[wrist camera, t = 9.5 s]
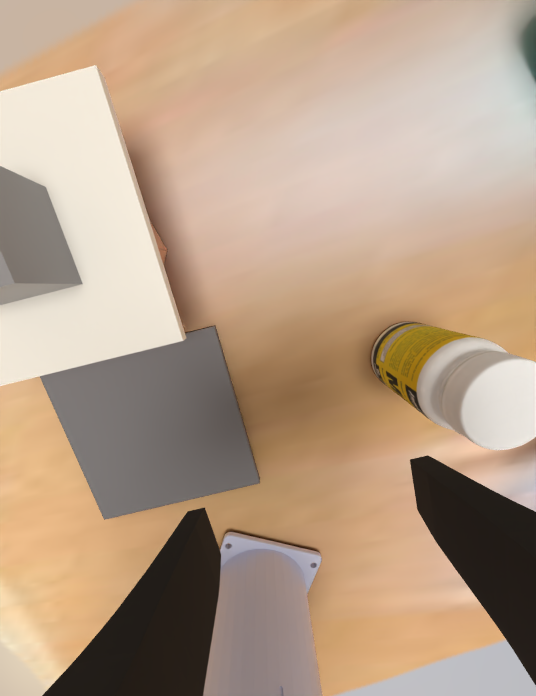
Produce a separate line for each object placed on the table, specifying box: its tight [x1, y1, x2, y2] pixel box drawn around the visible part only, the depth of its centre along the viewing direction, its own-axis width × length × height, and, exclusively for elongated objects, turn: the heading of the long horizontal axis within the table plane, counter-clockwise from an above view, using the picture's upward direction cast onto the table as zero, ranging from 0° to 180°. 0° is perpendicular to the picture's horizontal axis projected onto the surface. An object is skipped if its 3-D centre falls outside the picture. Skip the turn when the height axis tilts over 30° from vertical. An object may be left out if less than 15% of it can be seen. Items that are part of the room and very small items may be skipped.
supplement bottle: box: [371, 322, 536, 450], centre depth 15 cm, size 5×5×8 cm
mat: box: [40, 326, 260, 520], centre depth 20 cm, size 12×12×1 cm
